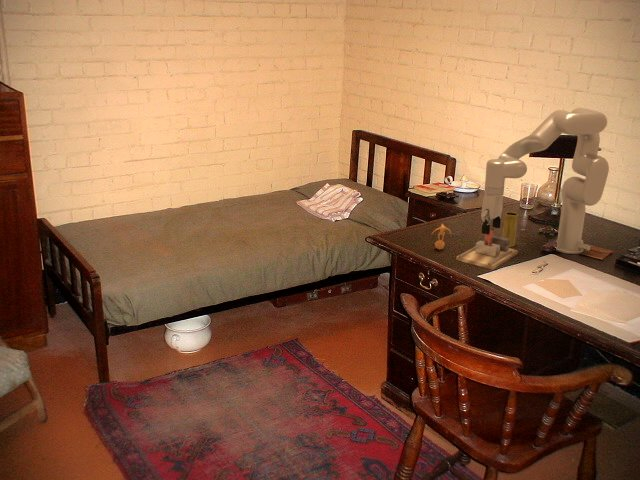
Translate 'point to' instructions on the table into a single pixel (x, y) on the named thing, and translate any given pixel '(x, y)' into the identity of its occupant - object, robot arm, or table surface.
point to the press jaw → (488, 245)
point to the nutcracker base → (488, 260)
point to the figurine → (439, 243)
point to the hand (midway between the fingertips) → (490, 230)
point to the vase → (510, 227)
